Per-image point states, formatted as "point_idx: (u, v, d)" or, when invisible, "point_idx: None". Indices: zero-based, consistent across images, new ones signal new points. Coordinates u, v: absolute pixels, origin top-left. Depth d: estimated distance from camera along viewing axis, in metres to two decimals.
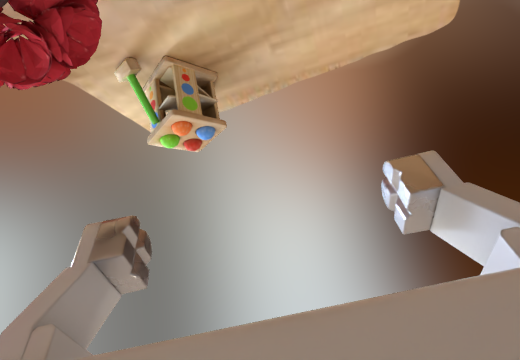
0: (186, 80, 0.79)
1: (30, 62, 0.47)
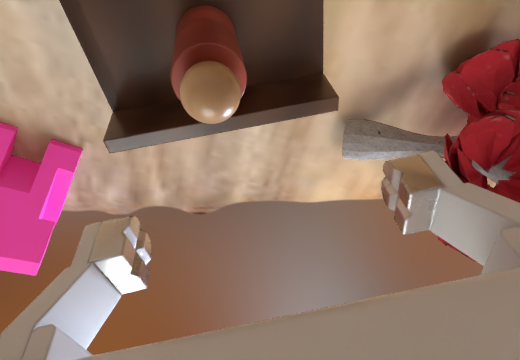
0: None
1: None
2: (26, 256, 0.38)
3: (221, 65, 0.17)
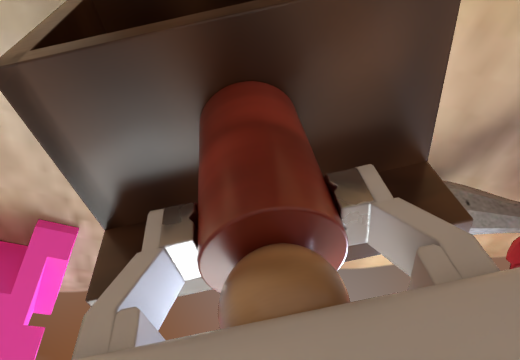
0: None
1: None
2: None
3: (314, 271, 0.07)
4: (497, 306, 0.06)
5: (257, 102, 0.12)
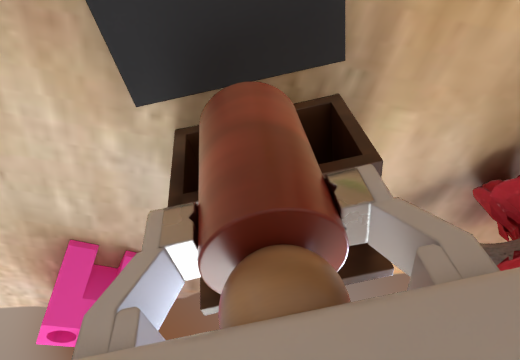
0: None
1: None
2: None
3: (315, 272, 0.07)
4: (497, 306, 0.06)
5: (257, 103, 0.12)
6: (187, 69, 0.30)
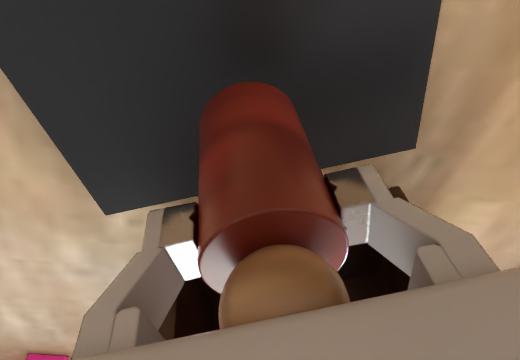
0: None
1: None
2: None
3: (315, 272, 0.07)
4: (497, 306, 0.06)
5: (257, 103, 0.12)
6: (180, 167, 0.20)
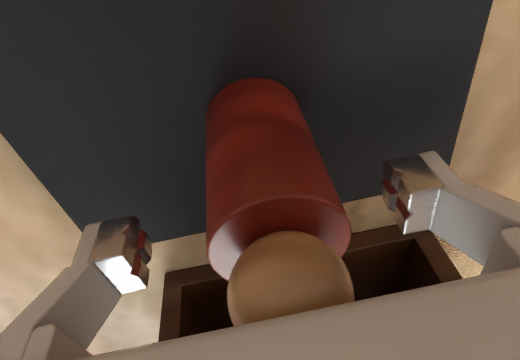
0: None
1: None
2: None
3: (319, 255, 0.08)
4: (497, 306, 0.06)
5: (262, 97, 0.12)
6: (183, 204, 0.18)
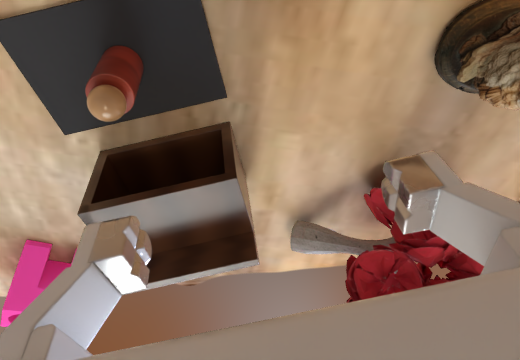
0: None
1: None
2: None
3: (109, 87, 0.29)
4: (497, 306, 0.06)
5: (115, 51, 0.34)
6: None
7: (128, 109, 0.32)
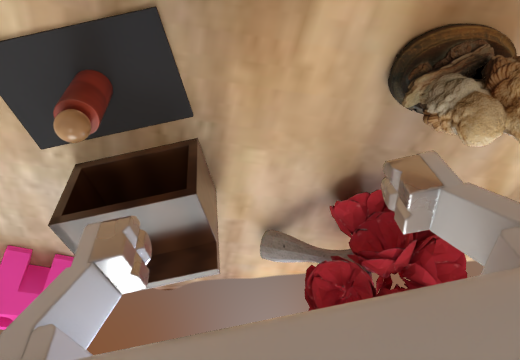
0: None
1: None
2: None
3: (74, 112, 0.32)
4: (497, 306, 0.06)
5: (85, 76, 0.36)
6: None
7: (94, 130, 0.35)
